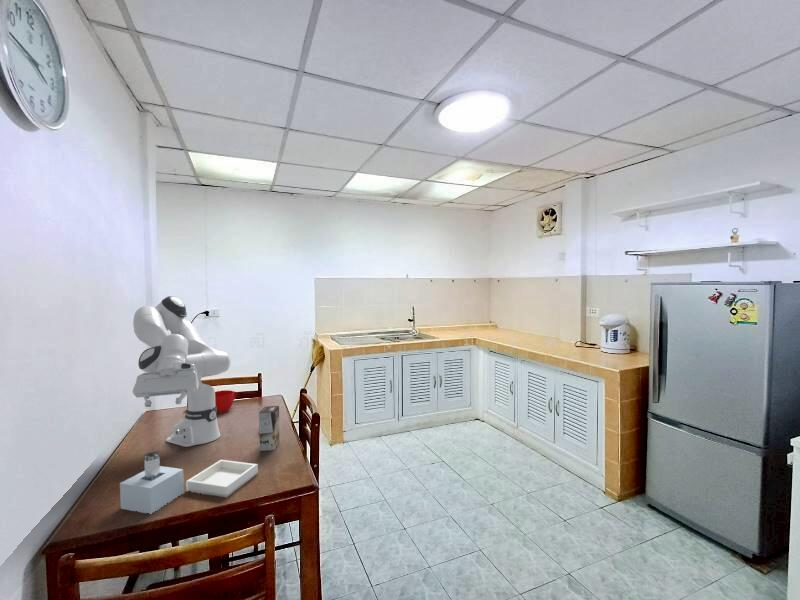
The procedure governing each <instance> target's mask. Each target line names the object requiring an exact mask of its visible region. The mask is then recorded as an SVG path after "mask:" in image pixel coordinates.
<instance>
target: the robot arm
mask: <svg viewBox="0 0 800 600" xmlns="http://www.w3.org/2000/svg"><path fill="white" fill-rule="evenodd" d="M187 315H188V313H187V307H186V304H185V302H183V301H182V300H181V299H180V298H178V297H177V296H171V295H169V296H167V297H165V298H163V299H162V300H161V301H160V302H159V304H157V305H156V306H155V307H153V306H151V305H150V306H149V305H145V306H144V305H143V306H141V307H139V308H137V310H135V313H134V315H133V322H132V325H133V331H134V334H135V335H136V337H137V339H138V340H139V341H141V342H142V343H143V344H145V345H147V346H148V347H149V348H146V349H145V350H143V352H142V353H141V354H140V356H139V358H138V364H137V365H138V369H139V370H141V371H142V372H143V373H141V374H139V375H137V377H136V380H135V383H134V386H133V389H132V394H133V395H134V397H136V398H143V400H144V407H145V408H151V407H152V401H151V399H150V397H159V396H172V395H179V397H175V405H181V404H182V401H183V400H184V398H185V397H186V400H187V408H186V409H185V410H183V411H182V415H183V414H185V415H184V418H182V419H181V420H180V421H178V422H177V423H176V424H174V427H173V428H172V434H171V435H170V436H168V437H167V438H166V442H167V443H170V444H173V445H178V446H181V447H184V448H185V447H186V448H187V447H193V446H196V445H203V444H208V443H210V442H213V441H216V440H217V439H219V438H220V437H221V433H220V428H219V424H218V419H217V414H218V413H217V408H216V405H215V392H216V391H215V388H214V387H213V386H211V385H209V384H207V383H203V382H202V379H203V378H206V377H207V378H208V377H212V376H217V375H220V374H223V373H225V372H227V371H228V370H229V368H230V366H231V359H230V356H229V354H228V353H227V352H226V351H222V350H219V349H216V348H214V347H212V346H210V345H209V344H207V343H206V342H205V341H204V339H203V338H202V336H201V335H200V333H199V331H198V330H197V328H196V327H195V326H194V324H193V323H191V321H189V320H188V319H185V318H186V317H187ZM168 331H170V333H169V332H168Z"/></svg>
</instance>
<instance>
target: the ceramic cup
mask: <svg viewBox="0 0 800 600" xmlns="http://www.w3.org/2000/svg"><path fill="white" fill-rule="evenodd" d="M237 395H238V392H237V391H236V390H235V391H234V390H231V389H230V390H216V391H215V405H216V408H217V414H224V413H226V412H227V413H228V411H229V410H230V409H231V407H232V405H233V403H234V401H235V400H236V398H237V397H238V396H237Z"/></svg>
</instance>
